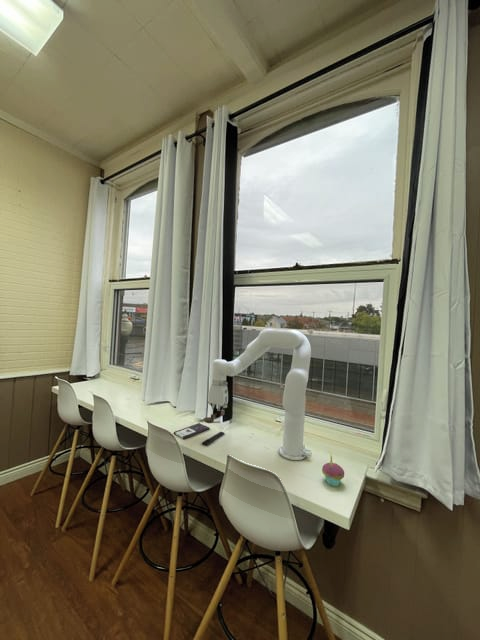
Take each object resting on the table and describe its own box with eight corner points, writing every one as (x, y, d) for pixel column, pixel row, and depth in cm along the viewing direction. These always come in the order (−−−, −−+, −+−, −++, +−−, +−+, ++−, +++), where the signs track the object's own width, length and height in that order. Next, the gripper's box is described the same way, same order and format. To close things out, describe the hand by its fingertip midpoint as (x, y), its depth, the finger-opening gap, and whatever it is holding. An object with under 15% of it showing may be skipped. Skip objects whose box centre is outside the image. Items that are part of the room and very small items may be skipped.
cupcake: (335, 491, 101) (336, 460, 101) (317, 480, 107) (318, 450, 108) (348, 484, 106) (349, 454, 106) (329, 473, 112) (331, 445, 113)
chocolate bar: (209, 427, 152) (184, 437, 138) (209, 429, 152) (184, 439, 138) (199, 423, 157) (174, 431, 143) (198, 424, 157) (173, 433, 143)
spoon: (219, 413, 148) (220, 408, 148) (226, 415, 146) (227, 410, 146) (202, 421, 135) (202, 416, 135) (210, 423, 132) (210, 418, 132)
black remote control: (220, 432, 148) (220, 431, 148) (224, 434, 146) (224, 432, 146) (201, 444, 133) (201, 442, 133) (206, 445, 132) (206, 444, 132)
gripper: (235, 384, 141) (232, 418, 141) (211, 379, 149) (208, 411, 149) (227, 386, 134) (225, 422, 134) (202, 381, 142) (200, 415, 142)
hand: (216, 416), depth 141 cm, fingers closed on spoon
